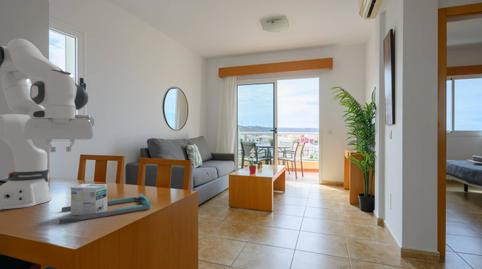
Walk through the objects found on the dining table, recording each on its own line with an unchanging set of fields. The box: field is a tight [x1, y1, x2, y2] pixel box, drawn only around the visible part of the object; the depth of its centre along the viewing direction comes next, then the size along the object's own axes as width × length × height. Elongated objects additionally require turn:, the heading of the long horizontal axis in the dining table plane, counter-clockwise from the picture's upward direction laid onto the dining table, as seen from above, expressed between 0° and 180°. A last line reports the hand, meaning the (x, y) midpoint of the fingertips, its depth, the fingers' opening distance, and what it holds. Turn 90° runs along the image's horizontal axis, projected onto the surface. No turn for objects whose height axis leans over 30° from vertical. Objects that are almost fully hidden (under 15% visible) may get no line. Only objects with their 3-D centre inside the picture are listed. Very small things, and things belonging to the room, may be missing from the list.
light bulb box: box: [70, 183, 108, 216], centre depth 93 cm, size 11×7×11 cm, turn 84°
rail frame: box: [58, 193, 152, 225], centre depth 97 cm, size 30×16×3 cm, turn 124°
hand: (60, 151), depth 88 cm, fingers open, 3 cm apart
